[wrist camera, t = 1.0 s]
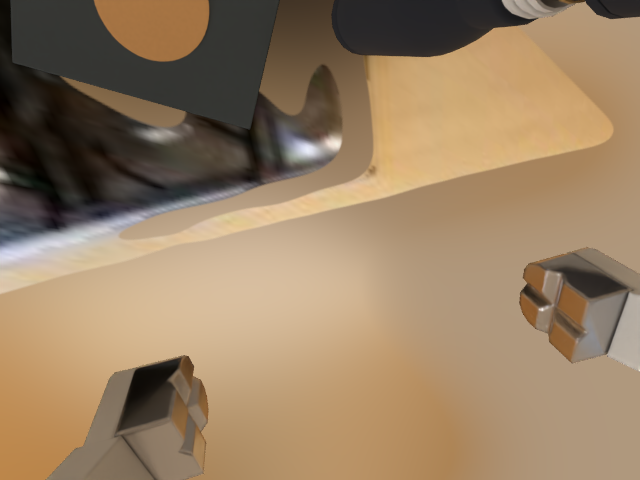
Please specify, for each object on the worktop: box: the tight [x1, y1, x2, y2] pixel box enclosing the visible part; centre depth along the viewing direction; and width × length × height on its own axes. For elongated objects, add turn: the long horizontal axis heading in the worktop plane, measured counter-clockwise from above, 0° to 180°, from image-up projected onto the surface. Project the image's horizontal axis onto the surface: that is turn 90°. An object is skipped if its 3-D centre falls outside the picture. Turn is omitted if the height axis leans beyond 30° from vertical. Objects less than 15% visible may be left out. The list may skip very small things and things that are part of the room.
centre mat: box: [11, 0, 280, 129], centre depth 30 cm, size 16×20×1 cm
